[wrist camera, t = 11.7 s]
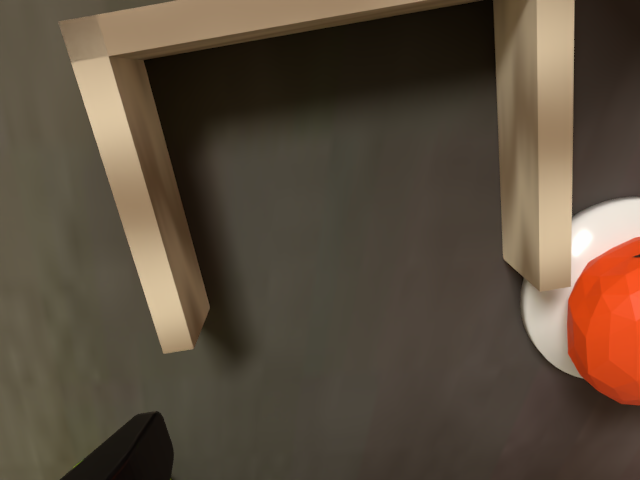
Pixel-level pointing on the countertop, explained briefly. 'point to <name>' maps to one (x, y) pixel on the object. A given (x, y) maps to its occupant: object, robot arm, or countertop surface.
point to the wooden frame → (294, 17)
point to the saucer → (576, 275)
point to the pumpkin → (608, 323)
